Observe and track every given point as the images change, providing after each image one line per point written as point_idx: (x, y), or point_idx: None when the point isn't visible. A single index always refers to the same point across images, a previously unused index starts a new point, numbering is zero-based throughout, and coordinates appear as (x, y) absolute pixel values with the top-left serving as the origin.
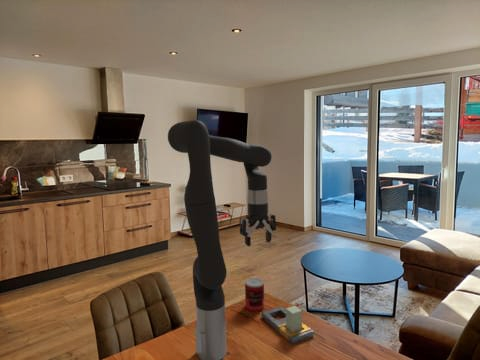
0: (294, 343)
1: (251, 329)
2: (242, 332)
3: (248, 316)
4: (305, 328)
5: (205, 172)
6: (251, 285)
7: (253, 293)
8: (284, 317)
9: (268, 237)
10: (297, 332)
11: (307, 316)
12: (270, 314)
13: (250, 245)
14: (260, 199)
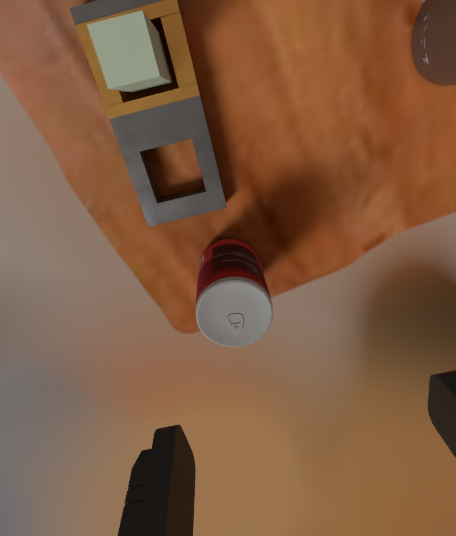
0: None
1: (284, 137)
2: (318, 128)
3: (266, 218)
4: None
5: None
6: (256, 291)
7: (248, 267)
8: (151, 175)
9: (172, 492)
10: None
11: (66, 161)
12: (198, 192)
13: (442, 377)
14: None
